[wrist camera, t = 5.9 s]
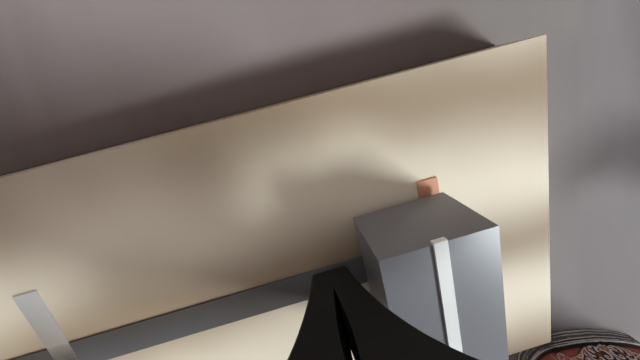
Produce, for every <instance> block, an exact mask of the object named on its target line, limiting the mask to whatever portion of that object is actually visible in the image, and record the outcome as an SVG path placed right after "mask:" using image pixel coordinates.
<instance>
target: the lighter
mask: <svg viewBox="0 0 640 360" xmlns="http://www.w3.org/2000/svg"><path fill="white" fill-rule="evenodd" d="M518 360H640V343H639V342H638V341H636V340H635V339H634V338H632V337H631V336H629V335H627V334H625V333H619V332H613V331H607V330H587V329H584V330H573V331H562V332H557V333H552V334H551V342H549V343H546V344H543V345H539V346H536V347H533V348H530V349H527V350H524V351H521V352H519V355H518Z"/></svg>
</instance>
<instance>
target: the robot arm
mask: <svg viewBox="0 0 640 360" xmlns="http://www.w3.org/2000/svg"><path fill="white" fill-rule="evenodd" d="M351 351H352V353H351ZM352 354H353V356H354V359H355V360H479V359H476V358H474V357H471V356H469V355H467V354H464V353H462V352H460V351H458V350H456V349H453V348H451V347H449V346H448V345H446V344H444V343H442V342H440V341H438V340H436V339H434V338H432V337H430V336H428V335H427V334H425V333H423V332H422V331H420V330H418V329H417V328H415V327H413V326H412V325H410V324H409V323H407V322H406V321H404V320H403V319H401V318H400V317H399V316H397V315H396V314H394V313H393V312H392V311H390V310H389V309H388V308H387V307H385V306H384V305H383V304H382V303H380V302H379V301H378V300H377V299H376V298H375V297H374V296H372V295H371V294H370V293H369V292H368V291H367V290H366V289H365V288H364V287H363V286H362V285H361V284H360V283H359V282H358V281H357V280H356V279H355V278H354V276H353V275H352V274H351V273H350V271H349V270H348V268H347V267H345V266H341V267H338V268H334V269H331V270H328V271H324V272H321V273H318V274H314V275H313V277H312V282H311V289H310V294H309V299H308V303H307V307H306V311H305V314H304V318H303V321H302V324H301V327H300V330H299V332H298V335H297V338H296V341H295V343H294V346H293V348H292V350H291V353H290V355H289V357H288V359H287V360H353V358H352Z"/></svg>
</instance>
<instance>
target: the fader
mask: <svg viewBox="0 0 640 360" xmlns="http://www.w3.org/2000/svg"><path fill="white" fill-rule="evenodd" d="M353 221H354V225H355V229H356V233H357V238H358V242H359V246H360V250H361V254H362V259H363V263H364V267H365V271H366V276H367V280H368V284H369V288H370V293H371V295H372V296H374V297H375V298H376V299H377V300H378V301H379V302H380V303H382V304H383V305H384V306H385V307H387V308H388V309H389V310H390V311H392V312H393V313H394V314H396V315H397V316H399V317H400V318H401V319H403V320H404V321H406V322H407V323H409V324H410V325H412V326H413V327H415V328H417V329H418V330H420V331H422V332H423V333H425V334H427V335H428V336H430V337H432V338H434V339H436V340H438V341H440V342H442V343H444V344H446V345H448V346H449V347H451V348H453V349H456V350H458V351H460V352H462V353H464V354H467V355H469V356H471V357H474V358H476V359H479V360H509V356H508V342H507V328H506V315H505V301H504V287H503V273H502V260H501V246H500V232H499V225H497V224H495V223H494V222H492V221H490V220H489V219H487V218H485V217H484V216H482V215H480V214H479V213H477V212H475V211H474V210H472V209H470V208H469V207H467V206H465V205H464V204H462V203H460V202H459V201H457V200H455V199H454V198H452V197H450V196H449V195H447V194H445V193H444V192H441V193H437V194H434V195H430V196H427V197H423V198H420V199H416V200H413V201H410V202H406V203H403V204H399V205H396V206H392V207H389V208H385V209H382V210H378V211H375V212H371V213H368V214H364V215H361V216H357V217H354V218H353Z"/></svg>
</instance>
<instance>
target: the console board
mask: <svg viewBox="0 0 640 360" xmlns="http://www.w3.org/2000/svg"><path fill="white" fill-rule="evenodd" d="M441 192H444V193H445V194H447V195H449V196H450V197H452V198H454V199H455V200H457V201H459V202H460V203H462V204H464V205H465V206H467V207H469V208H470V209H472V210H474V211H475V212H477V213H479V214H480V215H482V216H484V217H485V218H487V219H489V220H490V221H492V222H494V223H495V224H497V225H499V232H500V246H501V260H502V273H503V287H504V301H505V315H506V328H507V342H508V355H511V354H514V353H518V352H521V351H524V350H527V349H530V348H533V347H536V346H539V345H543V344H546V343H549V342H551V300H550V238H549V175H548V113H547V50H546V35H542V36H538V37H533V38H529V39H524V40H520V41H515V42H511V43H506V44H502V45H497V46H493V47H490V48H486V49H482V50H478V51H474V52H471V53H467V54H463V55H459V56H455V57H452V58H448V59H444V60H440V61H436V62H433V63H429V64H425V65H421V66H417V67H414V68H410V69H406V70H402V71H398V72H395V73H391V74H387V75H383V76H379V77H376V78H372V79H368V80H364V81H360V82H357V83H353V84H349V85H345V86H341V87H338V88H334V89H330V90H326V91H322V92H318V93H315V94H311V95H307V96H303V97H299V98H296V99H292V100H288V101H284V102H280V103H277V104H273V105H269V106H265V107H261V108H258V109H254V110H250V111H246V112H242V113H239V114H235V115H231V116H227V117H223V118H220V119H216V120H212V121H208V122H204V123H201V124H197V125H193V126H189V127H185V128H182V129H178V130H174V131H170V132H166V133H163V134H159V135H155V136H151V137H147V138H144V139H140V140H136V141H132V142H128V143H124V144H121V145H117V146H113V147H109V148H105V149H102V150H98V151H94V152H90V153H86V154H83V155H79V156H75V157H71V158H67V159H64V160H60V161H56V162H52V163H48V164H45V165H41V166H37V167H33V168H29V169H26V170H22V171H18V172H14V173H10V174H7V175H3V176H0V360H287V359H288V357H289V355H290V353H291V350H292V348H293V346H294V343H295V341H296V338H297V335H298V332H299V330H300V327H301V324H302V321H303V318H304V314H305V311H306V307H307V303H308V299H309V294H310V289H311V282H312V277H313V275H314V274H318V273H321V272H324V271H328V270H331V269H334V268H338V267H341V266H345V267H347V268H348V270H349V271H350V273H351V274H352V275H353V276H354V278H355V279H356V280H357V281H358V282H359V283H360V284H361V285H362V286H363V287H364V288H365V289H366V290H367V291H368V292H369V293H370V288H369V284H368V280H367V276H366V271H365V267H364V263H363V259H362V254H361V250H360V246H359V242H358V238H357V233H356V229H355V225H354V221H353V218H354V217H357V216H361V215H364V214H368V213H371V212H375V211H378V210H382V209H385V208H389V207H392V206H396V205H399V204H403V203H406V202H410V201H413V200H416V199H420V198H423V197H427V196H430V195H434V194H437V193H441ZM370 294H371V293H370ZM351 353H352V351H351ZM352 358H353V360H355V359H354V356H353V354H352Z"/></svg>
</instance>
